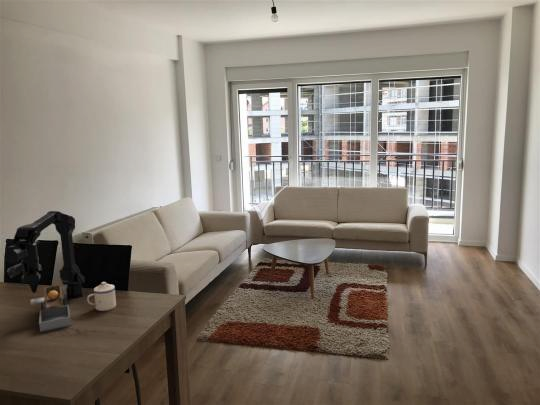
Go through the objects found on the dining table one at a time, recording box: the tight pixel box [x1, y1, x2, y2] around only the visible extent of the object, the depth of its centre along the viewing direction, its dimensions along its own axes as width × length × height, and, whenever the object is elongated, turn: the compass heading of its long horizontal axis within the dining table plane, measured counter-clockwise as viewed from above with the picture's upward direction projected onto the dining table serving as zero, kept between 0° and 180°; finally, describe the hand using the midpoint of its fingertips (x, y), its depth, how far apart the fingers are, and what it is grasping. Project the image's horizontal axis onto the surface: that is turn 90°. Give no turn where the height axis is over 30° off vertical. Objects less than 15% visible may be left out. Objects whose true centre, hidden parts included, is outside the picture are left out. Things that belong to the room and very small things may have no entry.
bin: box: [38, 304, 72, 333], centre depth 177 cm, size 11×14×4 cm
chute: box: [30, 284, 65, 310], centre depth 185 cm, size 12×18×6 cm
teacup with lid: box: [86, 281, 117, 312], centre depth 189 cm, size 12×9×12 cm
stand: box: [40, 293, 68, 310], centre depth 187 cm, size 11×5×7 cm, turn 117°
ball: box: [48, 290, 58, 300], centre depth 185 cm, size 4×4×4 cm
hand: (34, 292), depth 177 cm, fingers closed
